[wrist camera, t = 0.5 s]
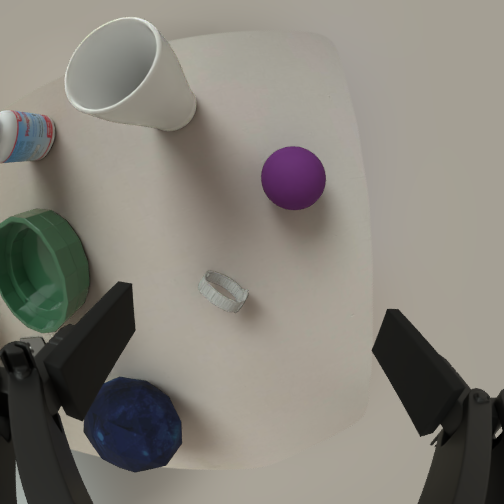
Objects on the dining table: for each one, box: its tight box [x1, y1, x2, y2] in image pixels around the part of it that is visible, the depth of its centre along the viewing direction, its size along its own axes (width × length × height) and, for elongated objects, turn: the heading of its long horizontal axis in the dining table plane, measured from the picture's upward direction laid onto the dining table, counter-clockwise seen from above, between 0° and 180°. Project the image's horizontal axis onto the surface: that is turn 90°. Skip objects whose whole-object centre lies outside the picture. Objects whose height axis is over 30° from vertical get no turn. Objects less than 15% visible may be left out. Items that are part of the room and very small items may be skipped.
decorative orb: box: [83, 377, 182, 472], centre depth 30 cm, size 14×15×15 cm
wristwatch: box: [198, 271, 249, 313], centre depth 28 cm, size 3×5×5 cm, turn 58°
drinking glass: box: [65, 17, 196, 131], centre depth 18 cm, size 7×7×15 cm
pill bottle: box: [0, 110, 55, 163], centre depth 20 cm, size 6×6×11 cm
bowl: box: [0, 209, 90, 333], centre depth 27 cm, size 15×15×6 cm
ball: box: [261, 146, 326, 210], centre depth 25 cm, size 6×6×6 cm
